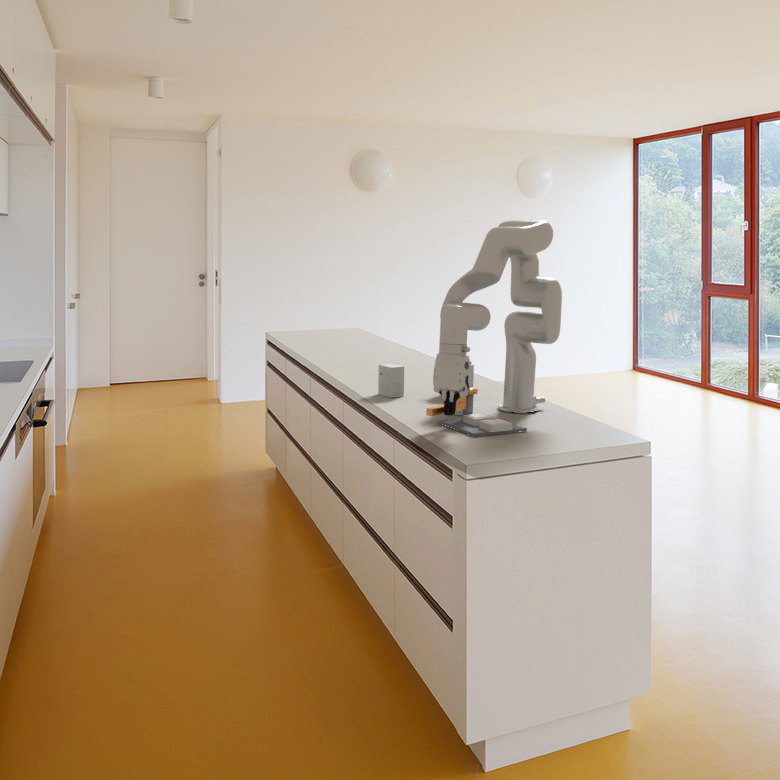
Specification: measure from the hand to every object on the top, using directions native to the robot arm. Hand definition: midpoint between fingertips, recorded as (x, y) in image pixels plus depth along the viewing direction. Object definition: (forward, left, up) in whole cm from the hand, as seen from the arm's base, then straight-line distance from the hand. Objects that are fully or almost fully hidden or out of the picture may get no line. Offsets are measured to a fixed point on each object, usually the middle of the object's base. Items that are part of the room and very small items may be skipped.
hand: (449, 414), depth 217 cm
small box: (-10, -53, -5) cm, 54 cm away
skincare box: (-16, -20, -5) cm, 26 cm away
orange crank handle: (-4, -5, 0) cm, 6 cm away
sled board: (-11, 0, -5) cm, 12 cm away
